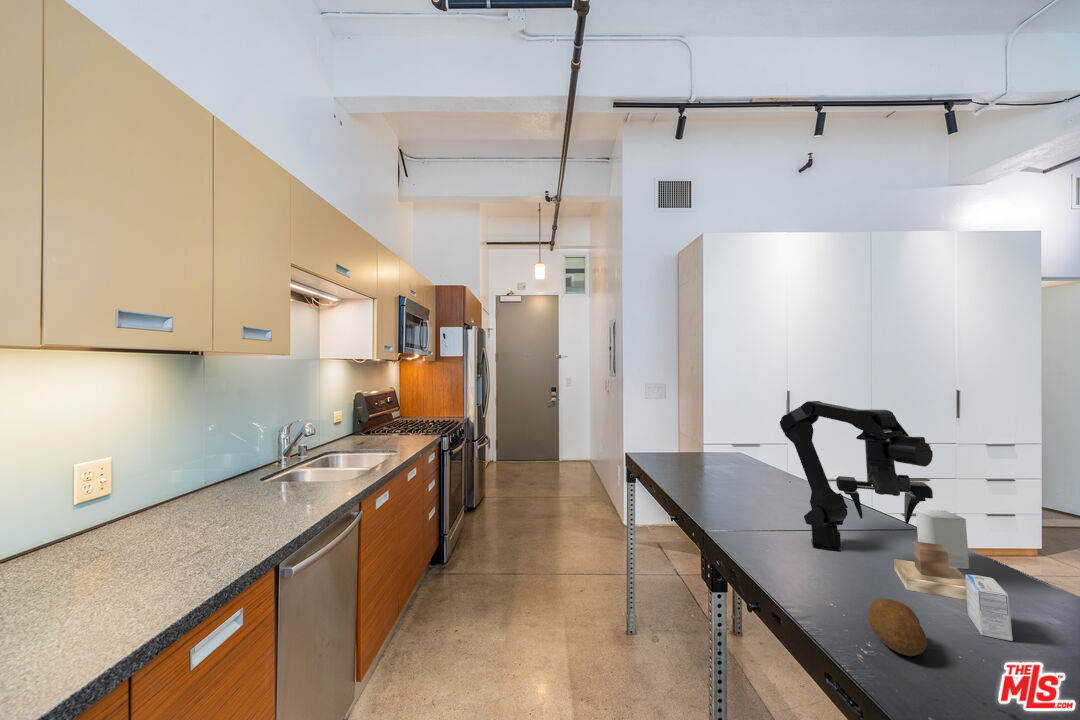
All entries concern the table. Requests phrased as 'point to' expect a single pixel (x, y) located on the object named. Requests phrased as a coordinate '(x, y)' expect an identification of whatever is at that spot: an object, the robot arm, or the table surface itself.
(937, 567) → the walnut block
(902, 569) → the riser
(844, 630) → the table surface
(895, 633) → the potato
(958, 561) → the supplement box
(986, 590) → the medicine box
